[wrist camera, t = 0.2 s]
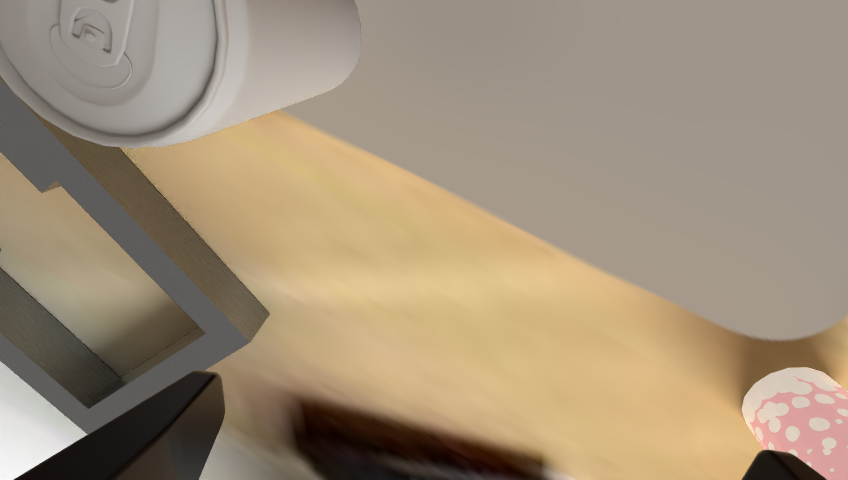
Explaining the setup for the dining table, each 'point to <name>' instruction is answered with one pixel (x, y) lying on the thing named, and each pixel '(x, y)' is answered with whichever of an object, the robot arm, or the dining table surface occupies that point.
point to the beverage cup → (801, 418)
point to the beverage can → (171, 62)
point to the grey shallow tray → (146, 244)
